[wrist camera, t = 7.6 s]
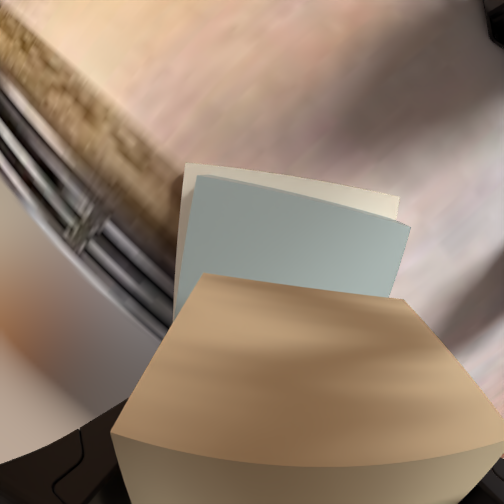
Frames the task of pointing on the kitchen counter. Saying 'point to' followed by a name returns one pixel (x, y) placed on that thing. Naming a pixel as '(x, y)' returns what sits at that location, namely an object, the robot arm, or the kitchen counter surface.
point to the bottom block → (299, 185)
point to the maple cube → (303, 404)
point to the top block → (287, 240)
